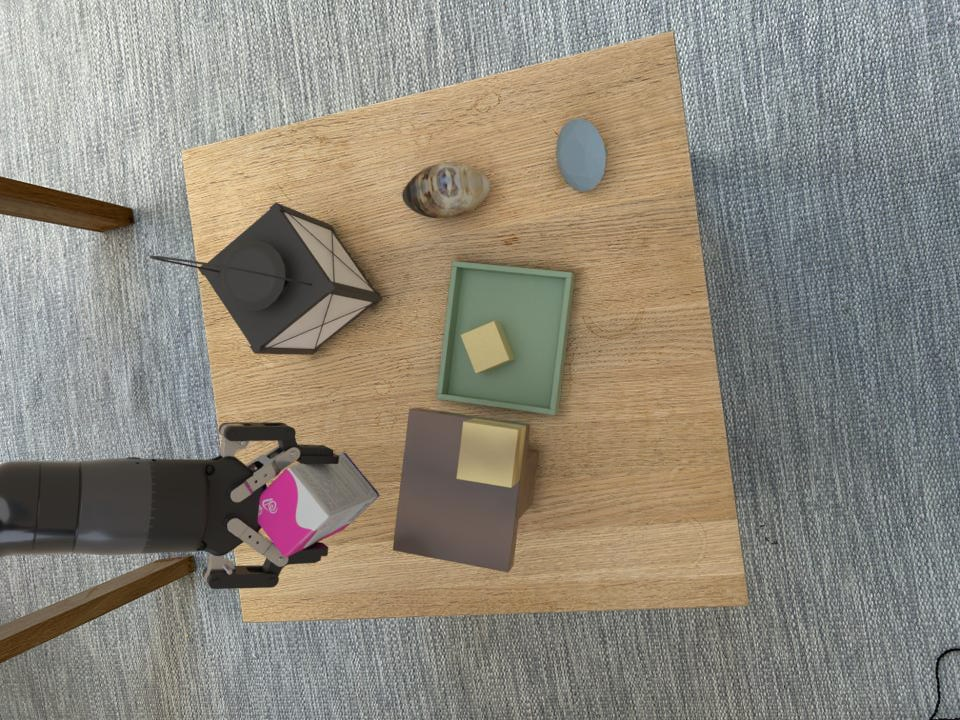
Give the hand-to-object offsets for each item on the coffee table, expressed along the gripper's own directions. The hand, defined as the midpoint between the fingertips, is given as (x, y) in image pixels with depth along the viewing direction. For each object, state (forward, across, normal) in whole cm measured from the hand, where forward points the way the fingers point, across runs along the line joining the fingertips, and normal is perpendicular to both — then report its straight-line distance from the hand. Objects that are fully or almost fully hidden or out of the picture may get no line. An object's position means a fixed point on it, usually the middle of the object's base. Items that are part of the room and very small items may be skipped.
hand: (330, 503), depth 70 cm
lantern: (+5, +20, +22) cm, 30 cm away
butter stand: (+22, +4, +4) cm, 23 cm away
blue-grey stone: (+25, +37, +2) cm, 45 cm away
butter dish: (+21, +17, +6) cm, 28 cm away
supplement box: (+3, 0, +5) cm, 6 cm away
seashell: (+15, +32, +12) cm, 37 cm away
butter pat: (+17, +16, +4) cm, 24 cm away
